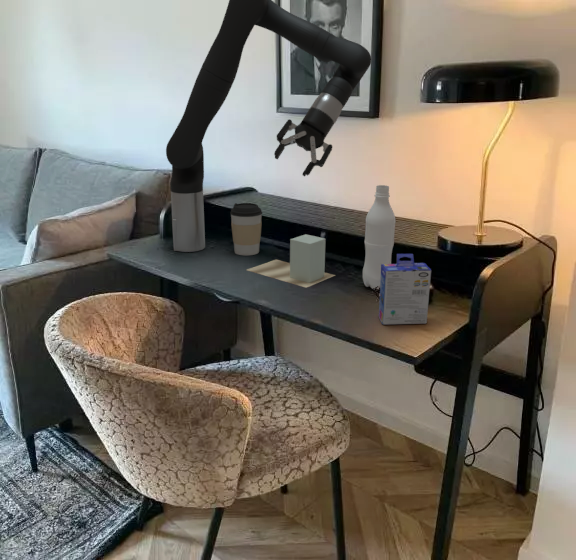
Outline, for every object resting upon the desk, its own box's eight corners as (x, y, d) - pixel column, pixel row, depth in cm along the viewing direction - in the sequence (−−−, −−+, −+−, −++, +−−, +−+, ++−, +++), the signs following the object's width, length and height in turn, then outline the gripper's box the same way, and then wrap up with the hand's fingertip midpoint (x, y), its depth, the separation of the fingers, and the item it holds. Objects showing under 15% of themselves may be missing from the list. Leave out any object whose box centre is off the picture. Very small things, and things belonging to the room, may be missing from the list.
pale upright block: (289, 277, 153) (290, 239, 149) (305, 271, 157) (305, 234, 154) (309, 283, 149) (310, 244, 146) (324, 276, 154) (325, 238, 150)
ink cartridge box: (420, 314, 134) (426, 251, 129) (428, 324, 129) (434, 259, 124) (376, 315, 133) (380, 252, 129) (382, 325, 128) (386, 260, 123)
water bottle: (394, 291, 148) (401, 189, 139) (364, 291, 147) (370, 189, 139) (387, 281, 154) (394, 183, 146) (359, 281, 154) (364, 183, 146)
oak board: (246, 274, 158) (245, 255, 157) (276, 263, 167) (276, 245, 165) (306, 292, 146) (306, 271, 145) (335, 279, 155) (336, 260, 153)
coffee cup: (264, 251, 178) (264, 201, 173) (260, 261, 169) (259, 208, 164) (234, 250, 178) (233, 200, 173) (228, 259, 170) (226, 207, 165)
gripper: (299, 95, 156) (265, 148, 155) (346, 124, 155) (313, 177, 154) (299, 106, 163) (267, 156, 162) (344, 133, 163) (312, 184, 162)
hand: (289, 166), depth 158 cm, fingers open, 8 cm apart
